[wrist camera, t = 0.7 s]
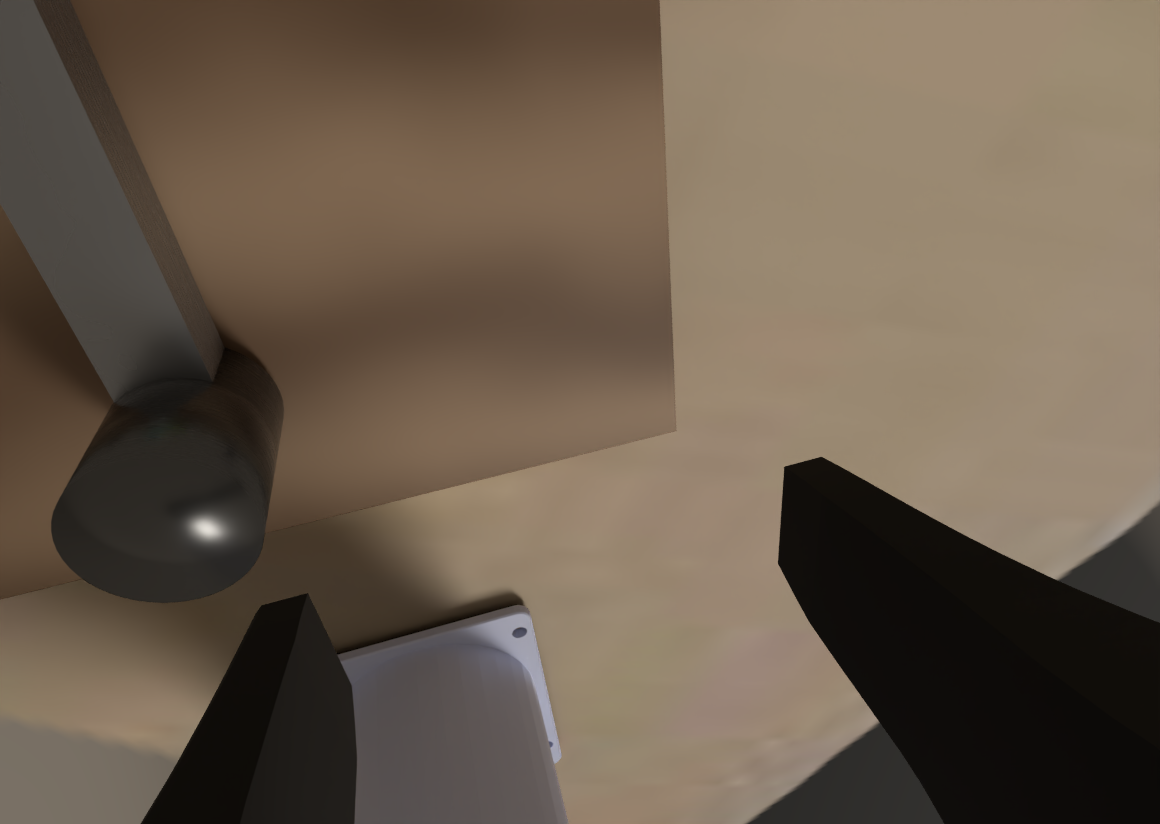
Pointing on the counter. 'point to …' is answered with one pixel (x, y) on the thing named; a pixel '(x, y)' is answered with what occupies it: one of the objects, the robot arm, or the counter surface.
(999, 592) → the robot arm
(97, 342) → the lever
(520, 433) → the board
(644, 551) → the counter surface
